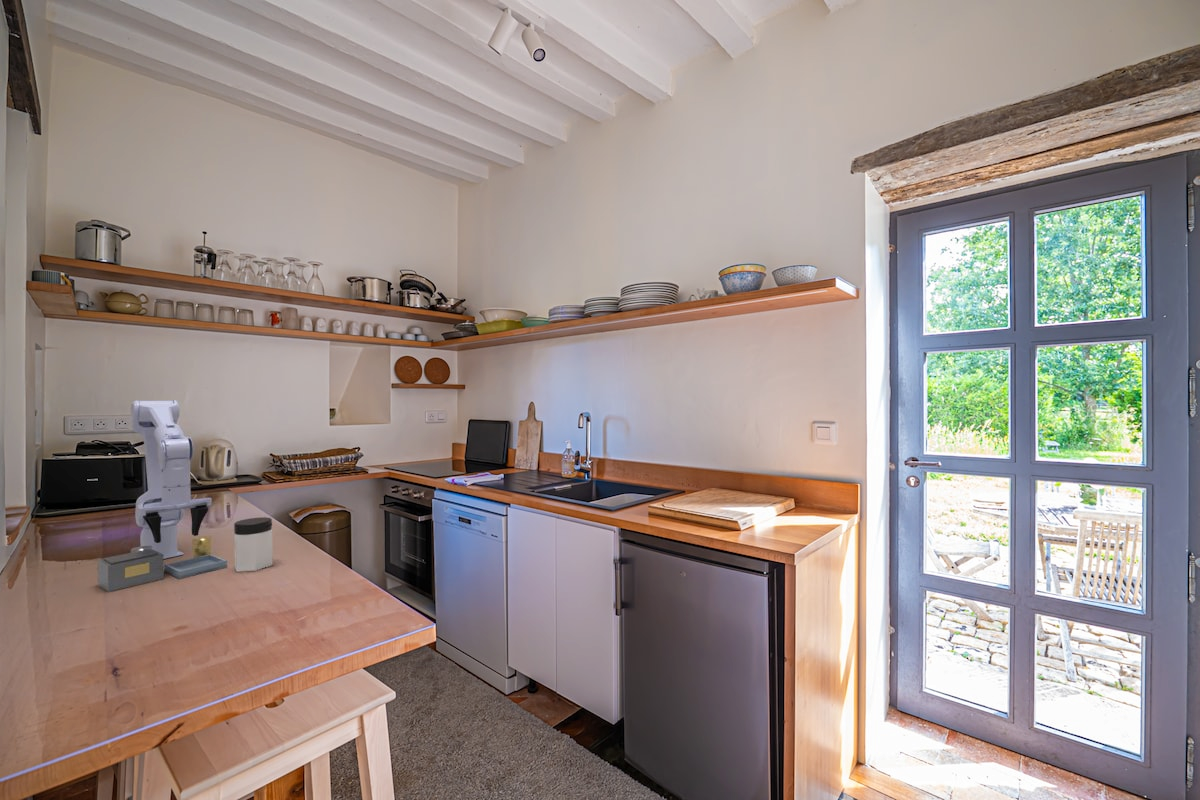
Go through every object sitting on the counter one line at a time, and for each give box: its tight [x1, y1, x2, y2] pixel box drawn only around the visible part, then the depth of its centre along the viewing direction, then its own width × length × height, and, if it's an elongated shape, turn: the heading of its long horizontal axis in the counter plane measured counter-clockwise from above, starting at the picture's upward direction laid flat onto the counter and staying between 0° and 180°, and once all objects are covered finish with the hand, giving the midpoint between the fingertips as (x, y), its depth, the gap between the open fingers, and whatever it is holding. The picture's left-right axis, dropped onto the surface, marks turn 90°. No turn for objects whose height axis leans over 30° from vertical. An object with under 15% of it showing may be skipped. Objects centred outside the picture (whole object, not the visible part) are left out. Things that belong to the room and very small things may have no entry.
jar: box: [233, 516, 274, 573], centre depth 133 cm, size 9×8×12 cm
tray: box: [164, 553, 228, 580], centre depth 131 cm, size 10×10×2 cm
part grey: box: [130, 546, 152, 553], centre depth 130 cm, size 4×4×6 cm
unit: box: [97, 549, 165, 593], centre depth 122 cm, size 9×10×6 cm
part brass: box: [191, 535, 212, 558], centre depth 139 cm, size 4×4×6 cm
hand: (176, 538), depth 130 cm, fingers open, 7 cm apart
